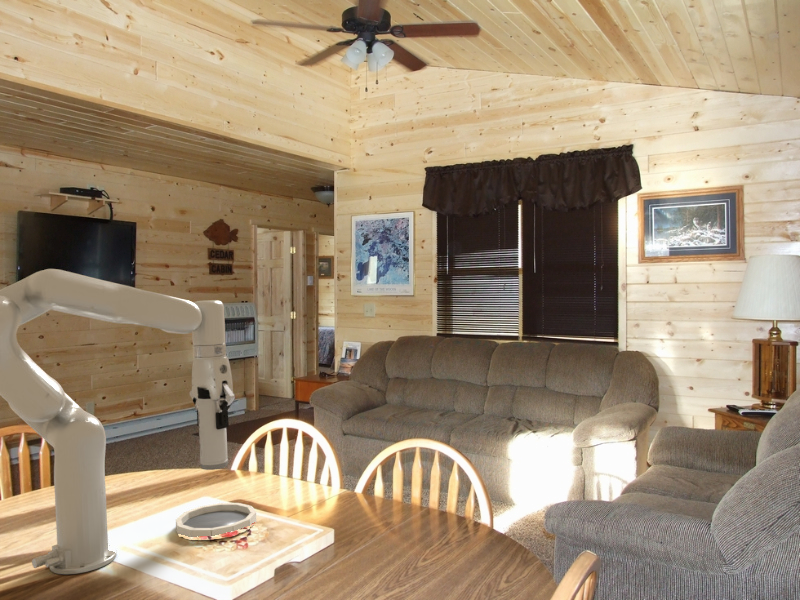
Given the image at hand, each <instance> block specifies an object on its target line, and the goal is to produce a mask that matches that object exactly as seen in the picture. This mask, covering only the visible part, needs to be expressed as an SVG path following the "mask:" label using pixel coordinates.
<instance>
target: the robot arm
mask: <svg viewBox="0 0 800 600" xmlns="http://www.w3.org/2000/svg"><path fill="white" fill-rule="evenodd" d="M49 311H56V312H60V313H64V314H69V315H75V316H78V317H79V316H80V317H84V318H90V319H94V320H98V321H103V322H109V323H114V324H124V325H126V324H127V325H128V324H129V325H138V326H143V327H150V328H154V329H158V330H161V331H163V332H165V333H168V334H182V335H187V334H192V338H191V339H192V356H193V357H192V366H191V367H192V369H191V389H190V391H189V396H190V398H191V400H192V402H193V404H194V408H195V410H196V419H197V420H196V421H197V422H196V423H197V427H198V428H199V419H198V391H197V387H199V388H203V389H204V390H209V392H210V397H211V400H213V401H215V405H216V408H217V411H218V412H216V429H218V430H219V429H223V428H226V429H227V428H229V423H230V422H229V411H230V409H231V406H232V404H233V402H234V400H235V399H236V396H235V393H234V386H233V376H232V369H231V364H230V360H229V357H227V347H226V345H227V344H226V322H225V305H224V303H223V302H222V301H221V300H218V299H217V300H216V299H214V300H213V299H212V300H211V299H210V300H196V301H190V300H188V299H184V298H179V297H175V296H170V295H167V294H164V293H158V292H155V291H149V290H145V289H140V288H137V287H133V286H130V285H127V284H120V283H116V282H112V281H108V280H103V279H100V278H96V277H91V276H87V275H84V274H83V275H82V274H79V273H75V272H71V271H68V270H67V271H66V270H63V269H56V268H47V269H44V270H39V271H36V272H34V273H32V274H30V275H28V276H26V277H25V278H23V279H21V280H19V281H16V282H15V283H12V284H9V285H8V286H5V287H3V288H1V289H0V397H1V398H2V399H4V400H5V401H6V403H8V406H9V408H10V409H11V410H12V411H13V412H14V414H16V415H17V416H18V417H19V418H20V419H22V421H24V423H26V424H27V425H28V426H29V427H30V428H31V429H32V430H34V431H35V432H36V433H37V434H38V435H39V436H40V438H42V439H44V441H46V442H47V444H48V445H50V446H51V447H53V451H54V463H53V464H54V466H53V486H54V487H53V488H54V501H55V502H54V503H55V505H54V507H55V521H56V522H55V524H56V526H55V528H56V544H54V545H52V546H51V550H50V551H48V553H47V554H44V555H39V556H37V557H34V558H33V559H32V560H31V564H32V567H33V568H34V569H36V568H40V567H42V566H45V567H46V568H49V570H50V571H51V573H55V574H56V575H57V574H58V575H78V574H83V573H87V572H91V571H94V570H98V569H100V568H102V567H104V566H107V565H108V564H110V563H112V562H113V561H114V560H115V559H116V558H117V552H116V553H115V552H113V551H109V550H108V545H109V539H108V538H109V537H108V536H109V535H108V513H107V493H106V491H107V487H106V473H105V472H106V471H105V461H106V460H105V458H106V449H107V448H106V446H107V437H106V430H105V428H104V426H103V424H102V422H101V420H100V419H98V418H97V416H95V415H93V414H91V413H90V412H88V411H85V410H84V409H83V408H82V407H81V406H80V405H78V404H77V402H76V401H74V400H73V399H72V398H71V396H69V395H68V394H67V393H66V392H65V391H64V389H63V387H62V386H61V384H60V383H59V382H58V381H57V380H56V379H55V378H53V377H51V376H50V375H49V374H48V373H46V372H45V370H43V369H42V368H41V367H40V366H39V365H38V364H37V363H36V362H35V361H34V360H33V359H32V358H31V357H30V355H28V354H27V353H26V351H24V349H22V347H21V346H20V344H19V342H18V337H17V333H18V329H19V327H20V326H23V324H26V323H28V322H30V321H32V320H34V319H36V318H38V317H39V316H42V315H43V314H45V313H48V312H49ZM220 396H223V398H220ZM221 401H223V403H222V405H221V404H220V402H221Z"/></svg>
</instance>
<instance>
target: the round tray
mask: <svg viewBox="0 0 800 600" xmlns="http://www.w3.org/2000/svg"><path fill="white" fill-rule="evenodd" d="M254 522H256V523H257V511H256V510H255V508H254V507H253V506H252V505H251V504H250V505H249V504H245V503H241V502H219V503H213V504H207V505H202V506H198V507H195V508H193V509H191V510H190V509H189V510H187V511H185V512H183V513H182V514H181V515H179V516H178V517H176V519H175V529H176V528H177V531H176V533H177V532H178V534H181V535H185V536H188V537H197V536H198V537H199V536H215V535H219V534H223V533H226V532H231V531H235V530H238V529H241V528H244V527H247V526H250V525H251V524H252V523H254Z"/></svg>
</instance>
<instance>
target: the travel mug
mask: <svg viewBox="0 0 800 600" xmlns="http://www.w3.org/2000/svg"><path fill="white" fill-rule="evenodd" d="M197 391H198V419H199V427H198V437H199V458H200V459H199V460H200V461H199V462H200V468H201V470H204V471H206V470H207V471H211V470H212V471H213V470H221V469H222V468H223V469H224V468H225V467H227V466H228V464H229V463H228V462H229V459H228V441H227V440H228V438H227V437H228V436H227V428H223V429H219V430H218V429H216V412H218V411H217V408H216V405H215V401H213V400H211V397H210V392H209V390H204V389H203V388H199V387H197ZM220 398H223V396H220ZM222 403H223V401H221V402H220V404H221V405H222Z"/></svg>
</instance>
